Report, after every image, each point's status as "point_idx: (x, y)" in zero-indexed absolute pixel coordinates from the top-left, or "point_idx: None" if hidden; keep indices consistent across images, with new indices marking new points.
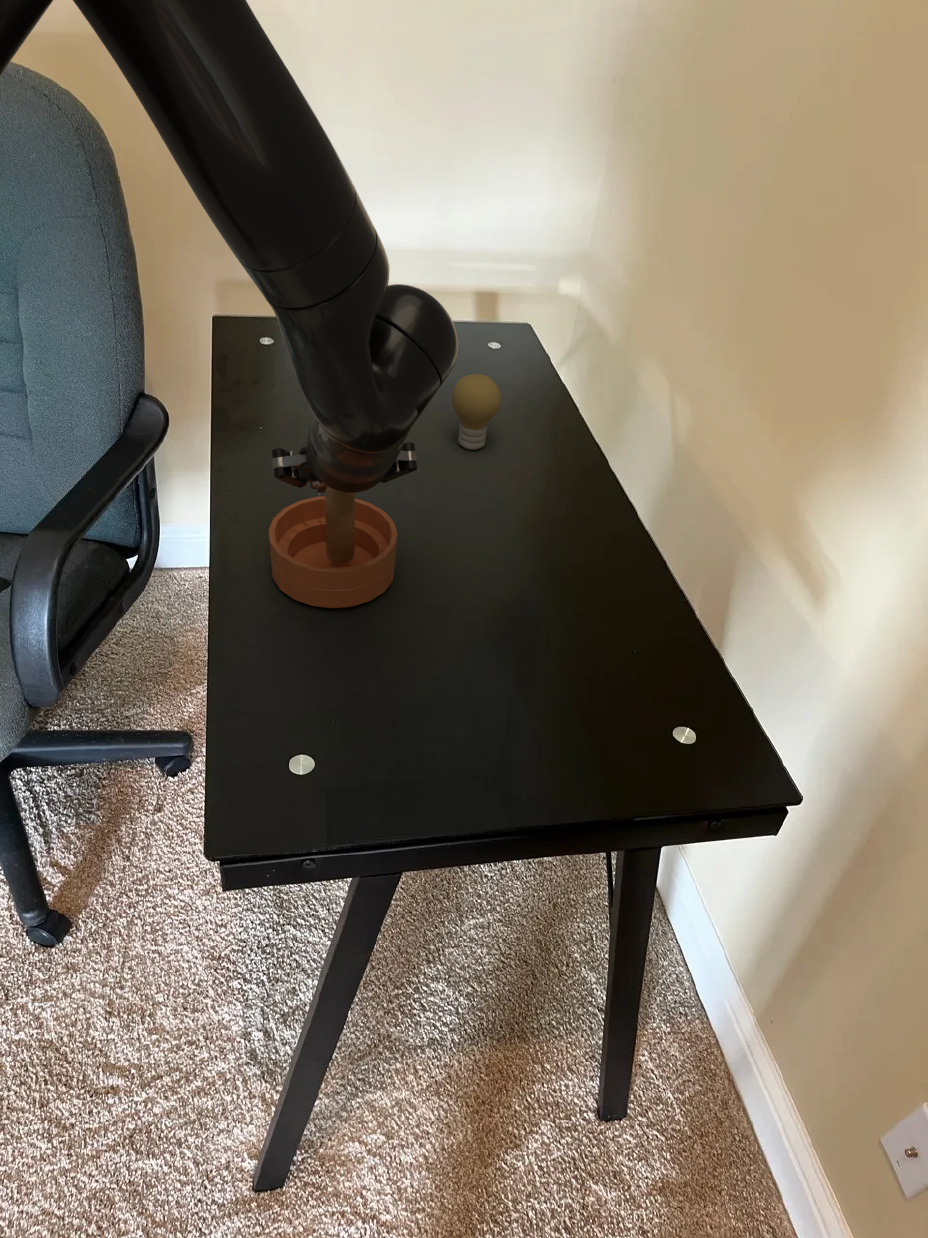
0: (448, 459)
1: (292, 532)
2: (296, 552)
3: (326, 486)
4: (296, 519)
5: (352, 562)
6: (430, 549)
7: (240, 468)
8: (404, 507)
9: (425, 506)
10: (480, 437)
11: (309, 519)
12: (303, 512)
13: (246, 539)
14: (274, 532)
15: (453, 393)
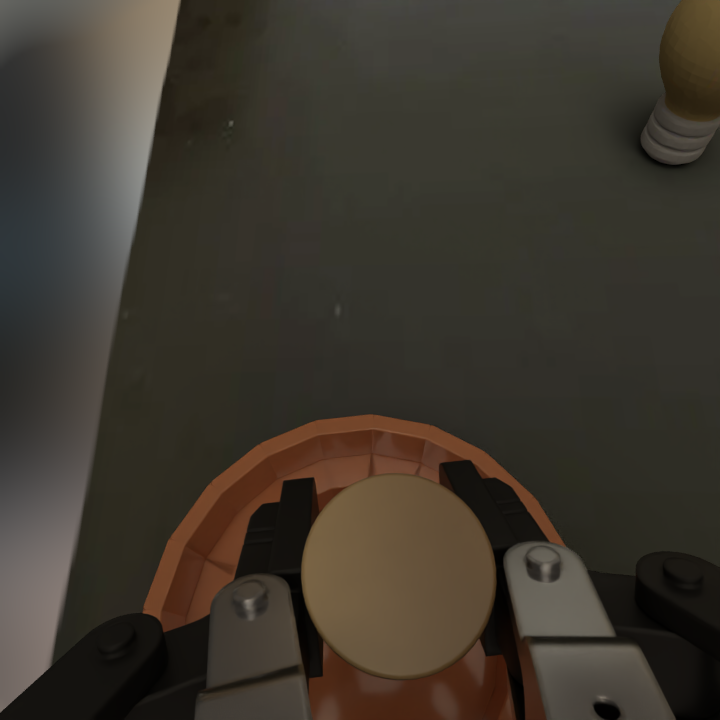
0: (624, 194)
1: (245, 531)
2: None
3: (322, 663)
4: (257, 487)
5: None
6: (631, 525)
7: (173, 234)
8: (541, 354)
9: (593, 349)
10: (706, 138)
11: (298, 469)
12: (277, 467)
13: (149, 481)
14: None
15: (674, 27)
